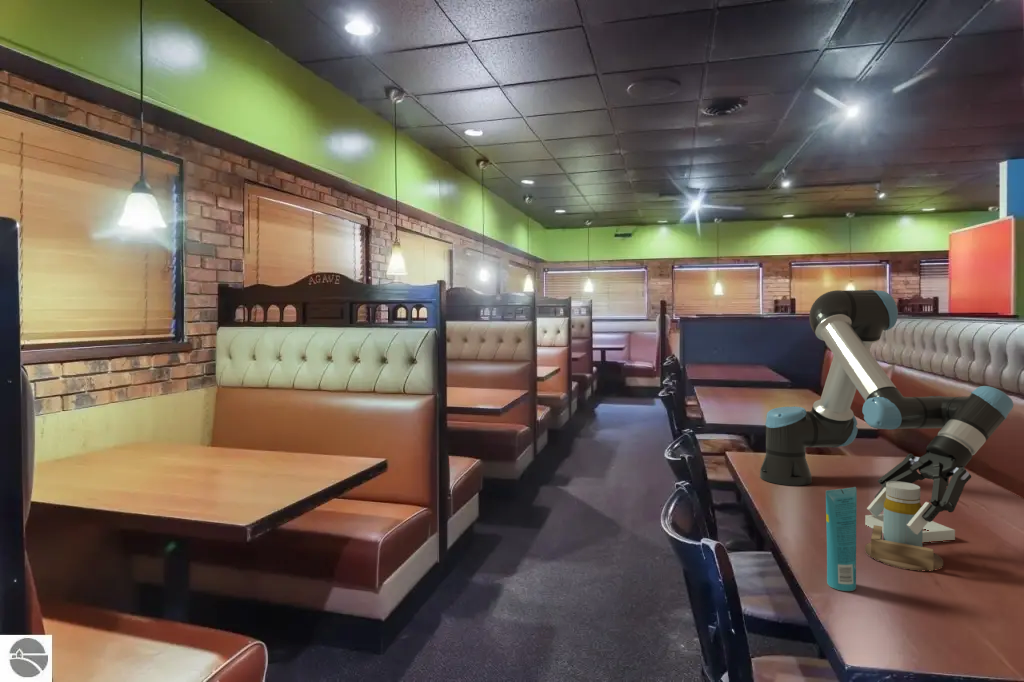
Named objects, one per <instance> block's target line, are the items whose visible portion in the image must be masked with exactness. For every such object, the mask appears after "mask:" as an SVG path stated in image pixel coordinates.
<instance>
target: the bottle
mask: <svg viewBox="0 0 1024 682" xmlns="http://www.w3.org/2000/svg"><path fill="white" fill-rule="evenodd" d="M922 506H923V505H922V504H921V486H919V485H918V484H915V483H907V482H898V481H892V482H887V483H886V500H885V502H884V509H883V514H884V519H883V533H882V540H886V541H892V542H897V543H903V544H908V545H914V546H919V547H923V543H922V536H923V531H924V529H922V530H921V531H920V532H919V533H918V535H917V534H915V533H914V532H913V531H912V530H911V529H910V528H909V527H908V526H907V524H908V523H909V521H910V520H911V519H912V518H913V517H914V515H915V514H916V513H917V512H918V511H919V509H920V508H921V507H922Z"/></svg>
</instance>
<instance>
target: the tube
mask: <svg viewBox="0 0 1024 682" xmlns="http://www.w3.org/2000/svg"><path fill="white" fill-rule="evenodd" d="M857 492H858V491H857V487H856V486H853V487H846V488H837V489H830V490H828V489H827V490H825V516H826V517H825V519H826V520H825V521H826V522H825V523H826V527H825V528H826V583H827V586H829V587H830V588H832V589H835V590H838V591H843V592H853V591H855V590H856V589H857V510H858V509H857V507H858V506H857V504H858V503H857V502H858V501H857V500H858V499H857V497H858V494H857Z"/></svg>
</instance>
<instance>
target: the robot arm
mask: <svg viewBox="0 0 1024 682" xmlns="http://www.w3.org/2000/svg"><path fill="white" fill-rule="evenodd" d="M898 312H899V310H898V305H897V303H896V300H895V299H894V297H893V296H892V295H891V294H890V293H889V292H887V291H885V290H878V289H877V290H874V289H865V290H863V289H861V290H860V289H859V290H857V289H855V290H852V289H851V290H850V289H849V290H848V289H847V290H839V289H837V290H830V291H827V292H825V293H823V294H821V295H820V296H819V297H818V298H817V299H815V301H814V302H813V303H812V305H811V307H810V310H809V315H808V319H809V325H810V328H811V329H812V332H813V333H814V334H815V337H816V338H817V339H819V340H821V341H824V342H825V344H826V345H827V347H828V348H829V350H830V351H831V353H832V354H833V357H832V359H831V364H830V367H829V369H828V370H829V371H828V373H827V377H826V379H825V382H824V387H823V390H822V393H821V397H820V399H817V400H815V401H814V402H813V404H812V407H811V410H809V411H807V410H806V408H804V407H801V406H781V407H775V408H772V409H770V410H768V411H767V412H766V416H765V417H766V418H765V456H764V458H763V462H762V464H761V468H760V471H759V478H760V479H761V480H764V481H765V482H768V483H772V484H777V485H784V486H807V485H810V484H812V479H813V477H812V473H811V468H810V467H809V464H808V461H807V459H806V451H807V450H806V448H839V447H846V446H849V445H850V444H852V443H853V442H854V441H855V439H856V437H857V434H858V427H857V425H858V421H857V417H855V415H854V411H853V410H852V409H851V407H852V404H853V401H854V398H855V394H856V392H857V391H858V393H859V394H860V395H861V397H862V398H863V400H864V402H863V406H862V410H861V411H862V414H863V419H864V422H865V423H866V424H867V425H868V426H870V428H873V429H878V430H880V429H881V430H890V431H891V430H892V431H894V430H896V429H897V430H902V429H903V430H905V429H906V430H907V429H940V430H939V431H938V433H937V435H935V436H934V437H933V438H932V439H931V441H930V442H929V443H928V444H927V445H926V451H925V454H923V455H922V456H914V454H913V453H912V452H911V453H908V454H907V455H906V456H905V458H904V459H903V460H902V461H901V462H899V463H898V464H897V465H895V466H894V467H893V468H892V469H890V470H888V472H887V473H885V474H883V475H882V476H881V477H880V478H879V479H877V482H878V484H879V485H880V486H881V489H880V490H879V491H878V492H877V493H876V494H875V495H874V499H873V500H872V501H871V503H870V504H869V505H868V506H867V507H866V510H868V511H869V512H870V515H873V516H875V517H877V516H878V515H879V514H881V513H883V511H884V502H885V500H886V483H887V482H892V481H898V482H907V483H912V484H914V483H915V482H917V481H923V480H925V479H928V480H933V481H932V488H931V489H932V491H931V497H930V499H928V501H929V502H928V501H925V502H924V504H923V505H921V506H922V507H921V508H920V509H919V511H918V512H917V513H916V514H915V515H914V517H913V518H912V519H911V520H910V521H909V523H908V524H907V526H908V527H909V528H910V529H911V530H912V531H913V532H914V533H915V534H917V535H918V533H919V532H920V531H921V530H922V529H923V528H924V526H925V525H926V524H927V523H928V522H931V521H934V519H935V518H936V517H937V516H938V515H939V513H941V512H944V511H946V512H948V513H953V512H954V511H955V510H956V507H957V505H958V502H959V500H960V497H961V494H962V492H963V490H964V488H965V485H966V484H967V483H968V482H969V480H971V479H972V475H971V474H970V473H969V471H967V469H966V468H965V467H966V466H967V464H969V462H970V461H971V460H972V459H973V456H975V454H977V452H978V451H979V450H980V449H981V448H982V447H983V445H984V444H985V443H986V441H988V440H989V438H990V437H992V435H993V434H994V432H995V431H996V430H997V429H998V428H999V427H1000V425H1002V424H1003V422H1004V421H1006V419H1007V417H1008V415H1009V414H1010V412H1011V411H1012V410H1013V409H1014V401H1013V399H1012V398H1011V397H1010V396H1009V395H1008V394H1007V393H1005V392H1004V391H1003V390H1000V389H998V388H995V387H993V386H989V385H980V386H978V387H976V388H975V389H974V390H973V391H971V392H970V394H969V396H967V395H966V396H942V395H931V396H903V394H902V393H901V391H900V390H899V389H898V388H897V387H896V385H895V383H893V381H892V380H891V378H890V377H889V375H887V372H885V370H884V369H883V368H882V366H881V365H880V363H879V362H878V361H877V360H876V357H874V355H873V354H872V353H871V351H870V350H871V347H872V344H873V343H876V342H878V341H880V339H881V336H882V334H883V331H888V330H890V329H892V328H894V327H895V326H896V324H897V322H898V316H899V313H898ZM923 530H924V529H923Z"/></svg>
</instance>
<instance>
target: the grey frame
mask: <svg viewBox="0 0 1024 682" xmlns="http://www.w3.org/2000/svg"><path fill="white" fill-rule="evenodd" d="M864 517H865V520H864V523H865V524H864V525H865V526H866V525H867V526H866V527H868V526H869V527H868V528H871V529H873V527H874V525H876V526H882V534H883V519H884V513H882V514H881V513H880V514H879V515H878V516H877V517H875V516H873V515H872V514H866V515H864ZM924 529H926V530H924ZM927 530H929V531H927ZM943 540H955V541H956V529H954V528H951V527H949V526H946V525H943V524H941V523H938V522H936V521H934V520H932V521H931V522H928V523H927V524H926V525H925V526H924V528H923V536H922V542H929V541H930V542H931V541H943ZM943 542H944V541H943ZM931 543H932V542H931Z"/></svg>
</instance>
